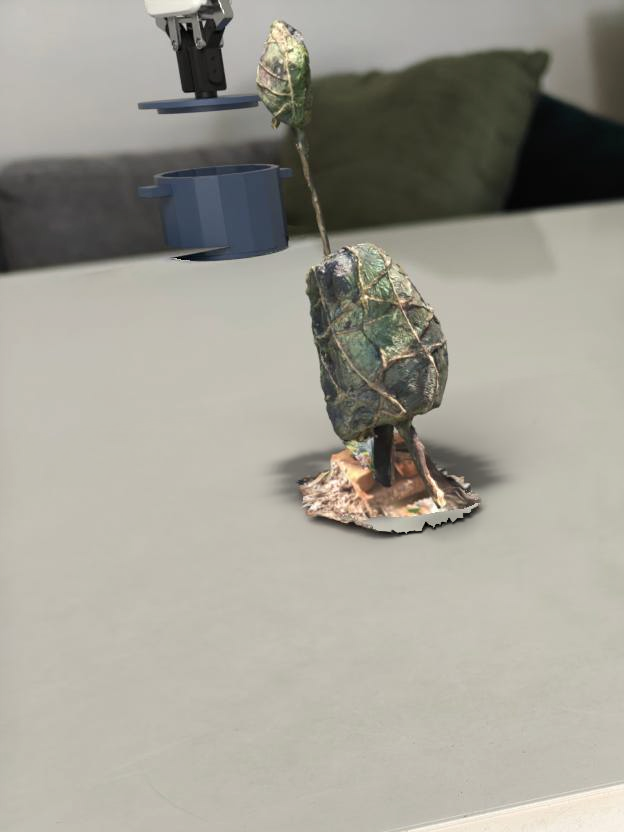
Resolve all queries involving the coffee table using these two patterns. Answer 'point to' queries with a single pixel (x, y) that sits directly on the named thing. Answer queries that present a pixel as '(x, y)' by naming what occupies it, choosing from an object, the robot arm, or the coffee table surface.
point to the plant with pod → (364, 345)
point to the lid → (201, 98)
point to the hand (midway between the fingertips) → (204, 90)
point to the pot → (222, 210)
